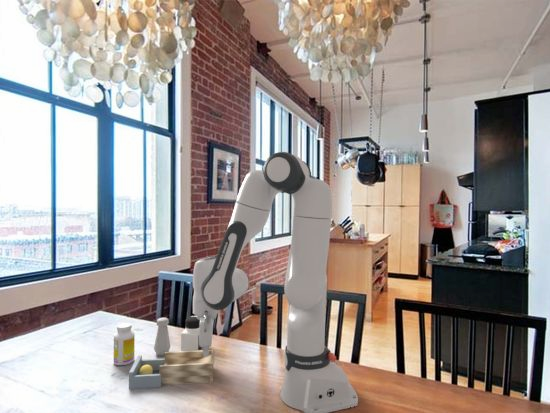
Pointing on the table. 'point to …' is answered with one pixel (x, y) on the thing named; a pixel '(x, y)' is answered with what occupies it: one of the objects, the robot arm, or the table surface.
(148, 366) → the ball
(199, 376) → the tan wooden tray
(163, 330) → the salt shaker
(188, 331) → the medicine bottle
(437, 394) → the table surface
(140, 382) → the light blue open bin
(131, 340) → the supplement bottle
